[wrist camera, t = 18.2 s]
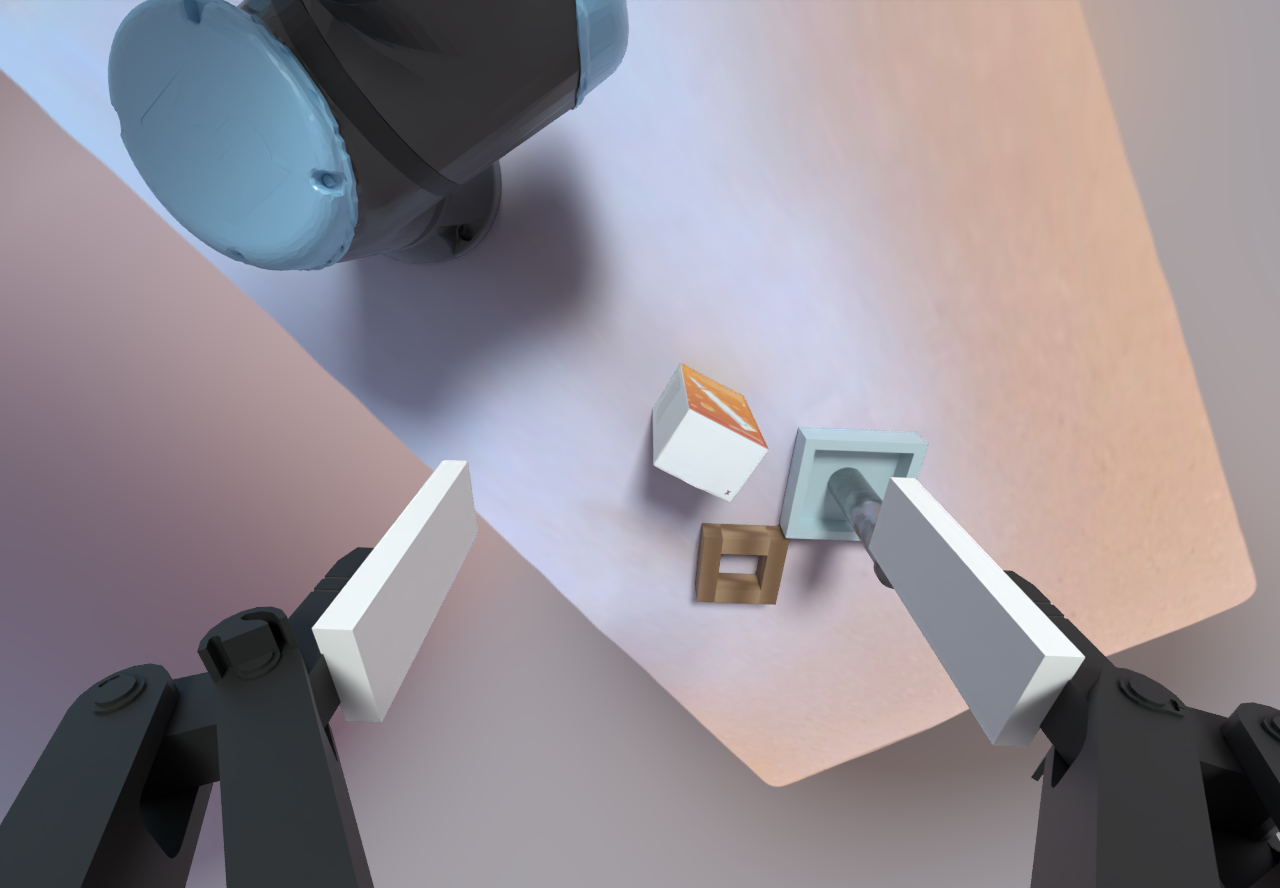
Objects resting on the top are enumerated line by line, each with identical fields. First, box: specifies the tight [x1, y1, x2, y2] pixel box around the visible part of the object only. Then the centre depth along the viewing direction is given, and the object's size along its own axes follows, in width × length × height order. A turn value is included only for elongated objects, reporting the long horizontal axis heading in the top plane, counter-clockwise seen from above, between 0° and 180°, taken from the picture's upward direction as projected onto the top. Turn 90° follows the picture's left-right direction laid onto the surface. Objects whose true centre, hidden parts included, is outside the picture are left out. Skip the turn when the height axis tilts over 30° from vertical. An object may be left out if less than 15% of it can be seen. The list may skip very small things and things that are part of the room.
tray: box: [780, 427, 929, 541], centre depth 56 cm, size 13×13×3 cm
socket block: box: [695, 523, 789, 605], centre depth 61 cm, size 10×10×3 cm
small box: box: [653, 363, 768, 502], centre depth 47 cm, size 8×6×13 cm
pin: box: [828, 467, 894, 589], centre depth 50 cm, size 5×5×15 cm
